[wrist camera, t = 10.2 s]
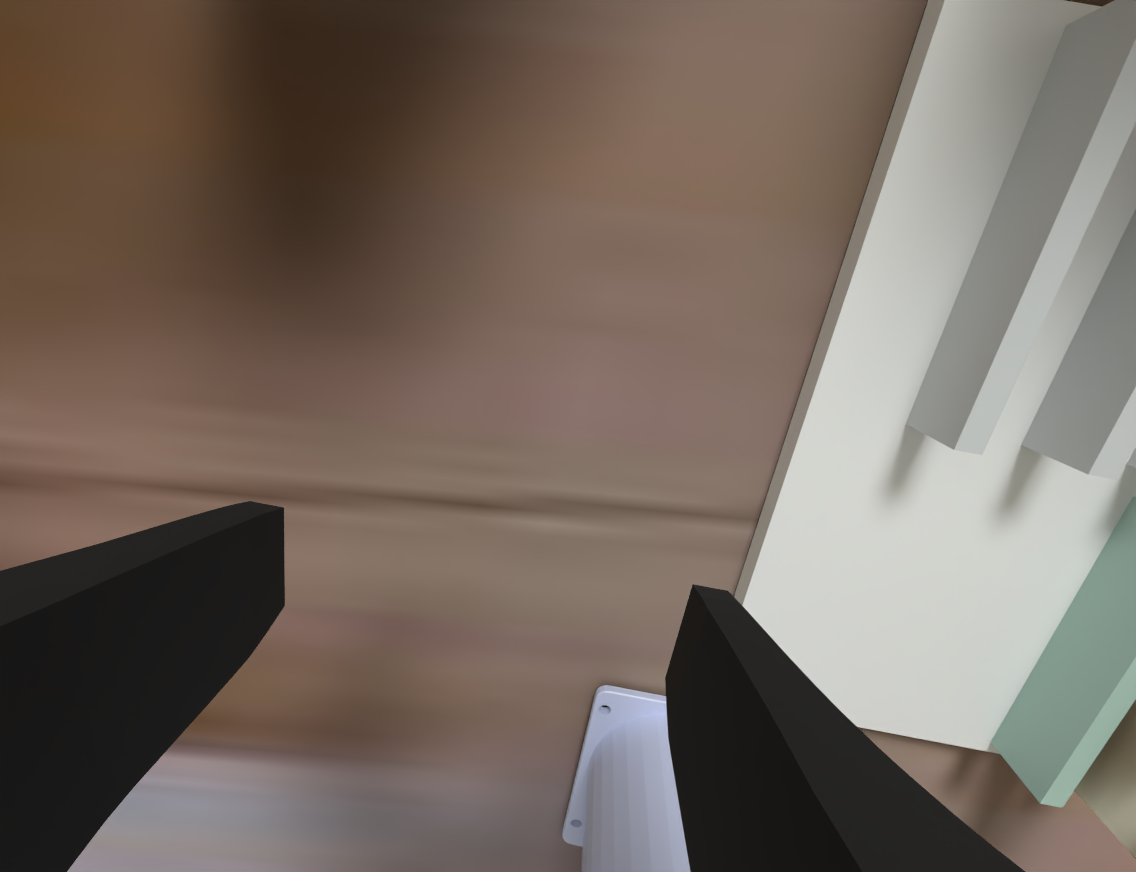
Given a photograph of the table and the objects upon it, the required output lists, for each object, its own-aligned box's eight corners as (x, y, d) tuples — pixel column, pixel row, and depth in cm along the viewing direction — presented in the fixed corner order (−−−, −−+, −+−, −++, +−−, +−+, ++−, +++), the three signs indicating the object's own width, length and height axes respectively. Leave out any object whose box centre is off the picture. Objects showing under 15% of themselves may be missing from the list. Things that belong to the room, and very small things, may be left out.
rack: (1105, 756, 22) (1194, 844, 19) (706, 680, 22) (724, 753, 19) (1550, 107, 14) (1839, 59, 11) (928, -1, 14) (1025, -80, 11)
